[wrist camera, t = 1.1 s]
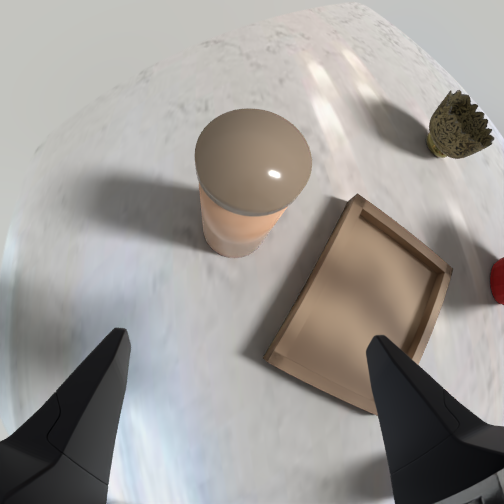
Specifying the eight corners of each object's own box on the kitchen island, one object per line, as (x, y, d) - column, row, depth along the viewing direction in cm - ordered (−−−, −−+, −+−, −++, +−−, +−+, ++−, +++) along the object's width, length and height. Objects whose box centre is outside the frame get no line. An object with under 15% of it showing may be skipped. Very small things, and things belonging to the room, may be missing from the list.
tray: (378, 414, 23) (389, 420, 21) (262, 358, 23) (267, 362, 21) (440, 271, 27) (453, 268, 25) (348, 201, 27) (357, 193, 25)
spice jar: (245, 271, 24) (277, 232, 12) (189, 236, 24) (170, 168, 12) (277, 218, 25) (329, 145, 14) (224, 185, 25) (236, 93, 14)
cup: (432, 178, 29) (476, 148, 21) (402, 125, 30) (438, 88, 22) (462, 168, 30) (501, 142, 23) (435, 121, 31) (469, 90, 24)
